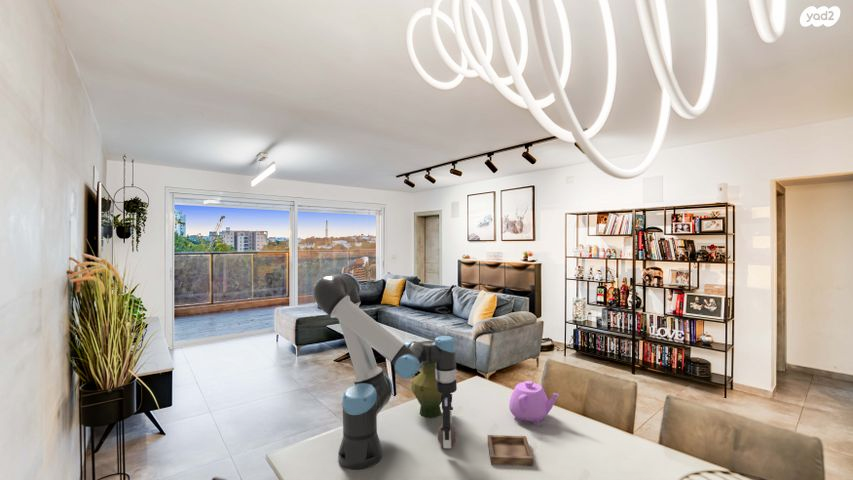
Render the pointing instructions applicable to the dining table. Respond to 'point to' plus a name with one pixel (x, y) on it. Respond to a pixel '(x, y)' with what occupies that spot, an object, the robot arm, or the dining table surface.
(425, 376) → the vase
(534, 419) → the teapot
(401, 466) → the dining table surface
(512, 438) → the walnut tray
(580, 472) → the dining table surface
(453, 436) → the vase
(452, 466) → the dining table surface
